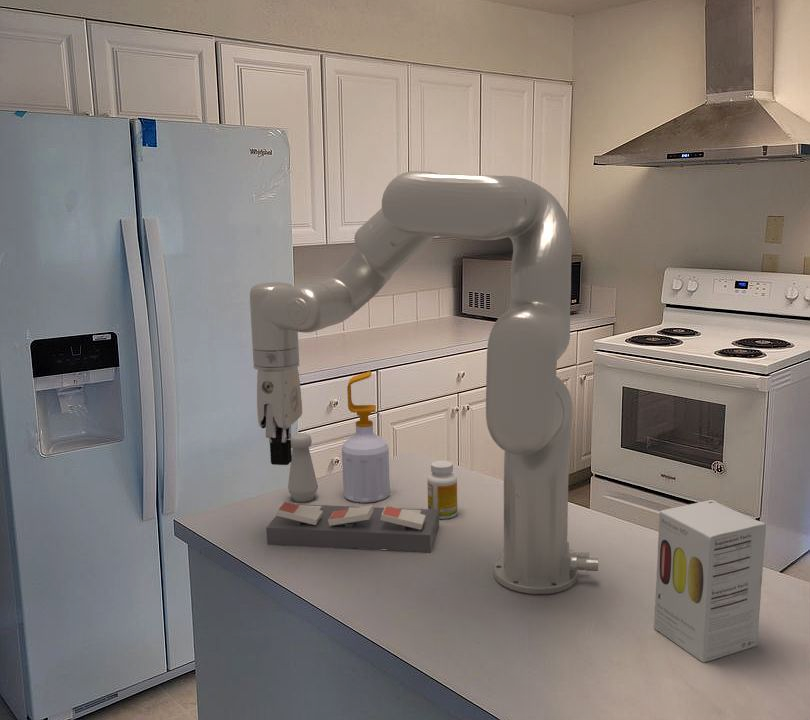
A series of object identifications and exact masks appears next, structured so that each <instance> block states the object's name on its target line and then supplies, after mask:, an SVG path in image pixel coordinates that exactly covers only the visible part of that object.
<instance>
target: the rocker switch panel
mask: <svg viewBox="0 0 810 720" xmlns="http://www.w3.org/2000/svg"><path fill="white" fill-rule="evenodd" d="M296 504H297V505H301V506H305V507H309V508H313V509H317V510H321V511H323V514H322V517H321V518H320V520H319V521H318V523H317V524H316V525H313V524H308V523H304V522H300V521H296V520H292V519H288V518H284V517H280V516H276V515H275V517H274V518H273V519H272V521H270V523H268V525H267V526H266V528H265V529H266V530H265V531H266V544H267V545H269V546H270V545H272V546H273V545H274V546H291V547H292V546H293V547H310V546H311V547H312V546H313V547H315V548H332V547H333V549H334V548H335V549H351V548H366V549H365V550H372V549H387V550H386V551H392V550H401V551H400V552H413V551H414V553H415V552H416V553H417V552H418V553H432V549H433V546H434V543H435V540H436V537H437V533H438V531H439V527H440V519H439V510H429V509H428V508H425V509H424V508H402V507H401V508H399V507H397V508H398V509H402V510H407V511H411V512H415V513H419V514H423V515H426V516H425V521H424V524H423V526H422V529H421V530H419V529H415V528H411V527H407V526H403V525H399V524H395V523H391V522H387V521H383V520H380V519H381V514H382V512H383V510H384V508H385V507H379V506H377V507H374V506H373V510H374V511H373V513H372V515H371V516H370V518H369V520H362V521H356V522H350V523H344V524H338V525H332V526H329V523H328V519H329V518H330V516H331V515H332V513H333V512H334V511H339V510H345V509H351V508H357V507H358V506H353V505H352V506H351V505H350V506H348V505H325V504H323V505H322V504H321V505H320V504H300V503H299V504H298V503H296ZM313 547H312V548H313Z"/></svg>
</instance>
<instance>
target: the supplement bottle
mask: <svg viewBox="0 0 810 720" xmlns="http://www.w3.org/2000/svg"><path fill="white" fill-rule="evenodd" d="M430 471H431V473H430V474H429V475H428V476H427V509H429V510H439V520H447V519H448V520H449V519H452V518H454V517H456V516H457V515H458V478H457V476H456V474H455V473H453V471H454V464H453V462H451V461H449V460H436V461H435V460H434V461H432V462H431V463H430Z"/></svg>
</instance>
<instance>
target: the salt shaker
mask: <svg viewBox="0 0 810 720" xmlns="http://www.w3.org/2000/svg"><path fill="white" fill-rule="evenodd" d="M288 440H291V454H292V461H291V462H290V464H289V467H290V468H289V475H288V483H287V489H288V492H289V494H290V496H291V498H292V499H293V501H294V502H295V503H307V502H306V501H308V502H311V501H313V500H314V497H315V495H316V493H317V491H318V488H319V485H318V480H317V477H316V473H315V469H314V463H313V459H312V456H311V452H310V447H311V446H312V437H311V435H310V434H309V433H306V432H305V433H304V432H297V433H294V434H291V438H290V439H288Z"/></svg>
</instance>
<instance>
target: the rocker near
mask: <svg viewBox="0 0 810 720" xmlns="http://www.w3.org/2000/svg"><path fill="white" fill-rule="evenodd" d="M383 508H384V510H383V512H382V514H381V519H380V520H383V521H387V522H391V523H395V524H399V525H403V526H407V527H411V528H415V529H419V530H421V529H422V526H423V524H424V521H425V516H426V515H423V514H419V513H415V512H411V511H407V510H402V509H398V508H399V507H393V506H389V505H385V506H384V507H383Z"/></svg>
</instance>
